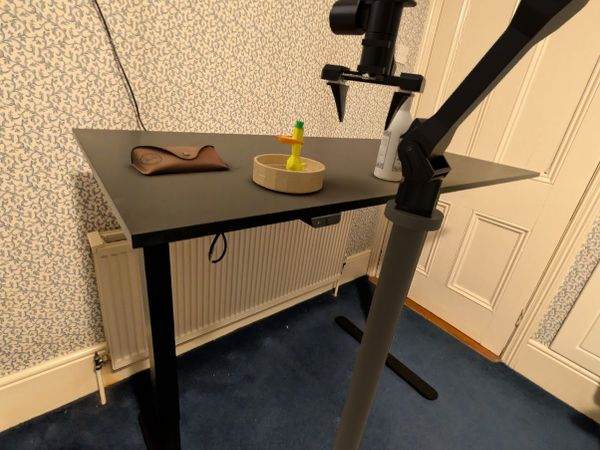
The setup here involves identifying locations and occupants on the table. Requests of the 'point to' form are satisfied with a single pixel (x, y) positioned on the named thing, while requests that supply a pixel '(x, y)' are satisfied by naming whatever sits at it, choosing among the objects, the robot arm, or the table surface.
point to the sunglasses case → (175, 159)
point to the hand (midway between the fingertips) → (362, 126)
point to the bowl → (287, 174)
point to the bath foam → (393, 145)
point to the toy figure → (294, 147)
